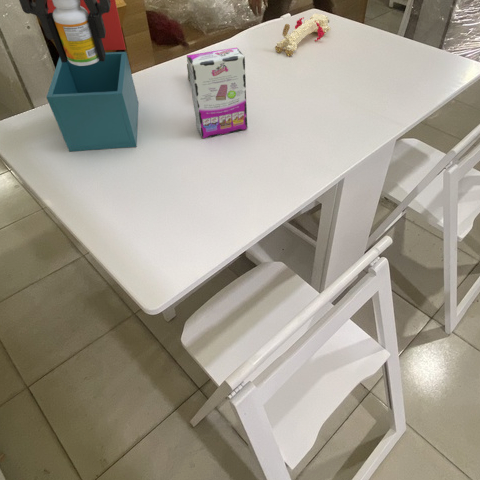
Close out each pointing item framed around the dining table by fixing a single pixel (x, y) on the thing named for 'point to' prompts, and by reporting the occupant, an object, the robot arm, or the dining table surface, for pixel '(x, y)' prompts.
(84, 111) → the teal open box
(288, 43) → the fuzzy plush toy
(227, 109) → the candy bar box
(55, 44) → the robot arm
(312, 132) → the dining table surface
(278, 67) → the dining table surface
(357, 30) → the dining table surface
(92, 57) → the supplement bottle
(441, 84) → the dining table surface
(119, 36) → the lid
